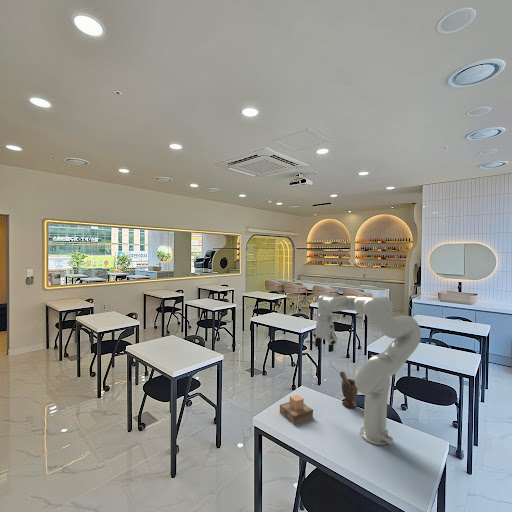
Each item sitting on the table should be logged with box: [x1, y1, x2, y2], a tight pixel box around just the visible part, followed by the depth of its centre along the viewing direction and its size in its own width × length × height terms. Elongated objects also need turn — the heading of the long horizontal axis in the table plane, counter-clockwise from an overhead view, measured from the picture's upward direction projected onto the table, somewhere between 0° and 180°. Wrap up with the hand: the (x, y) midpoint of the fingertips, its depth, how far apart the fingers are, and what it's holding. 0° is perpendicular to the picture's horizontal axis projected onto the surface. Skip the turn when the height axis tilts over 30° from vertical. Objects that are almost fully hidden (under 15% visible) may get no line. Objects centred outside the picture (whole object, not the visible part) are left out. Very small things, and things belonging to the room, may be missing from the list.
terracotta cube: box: [289, 394, 305, 411], centre depth 149 cm, size 5×5×5 cm
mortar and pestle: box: [339, 371, 359, 409], centre depth 159 cm, size 12×9×20 cm
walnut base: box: [279, 401, 314, 425], centre depth 149 cm, size 12×12×4 cm
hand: (324, 349), depth 158 cm, fingers open, 9 cm apart
